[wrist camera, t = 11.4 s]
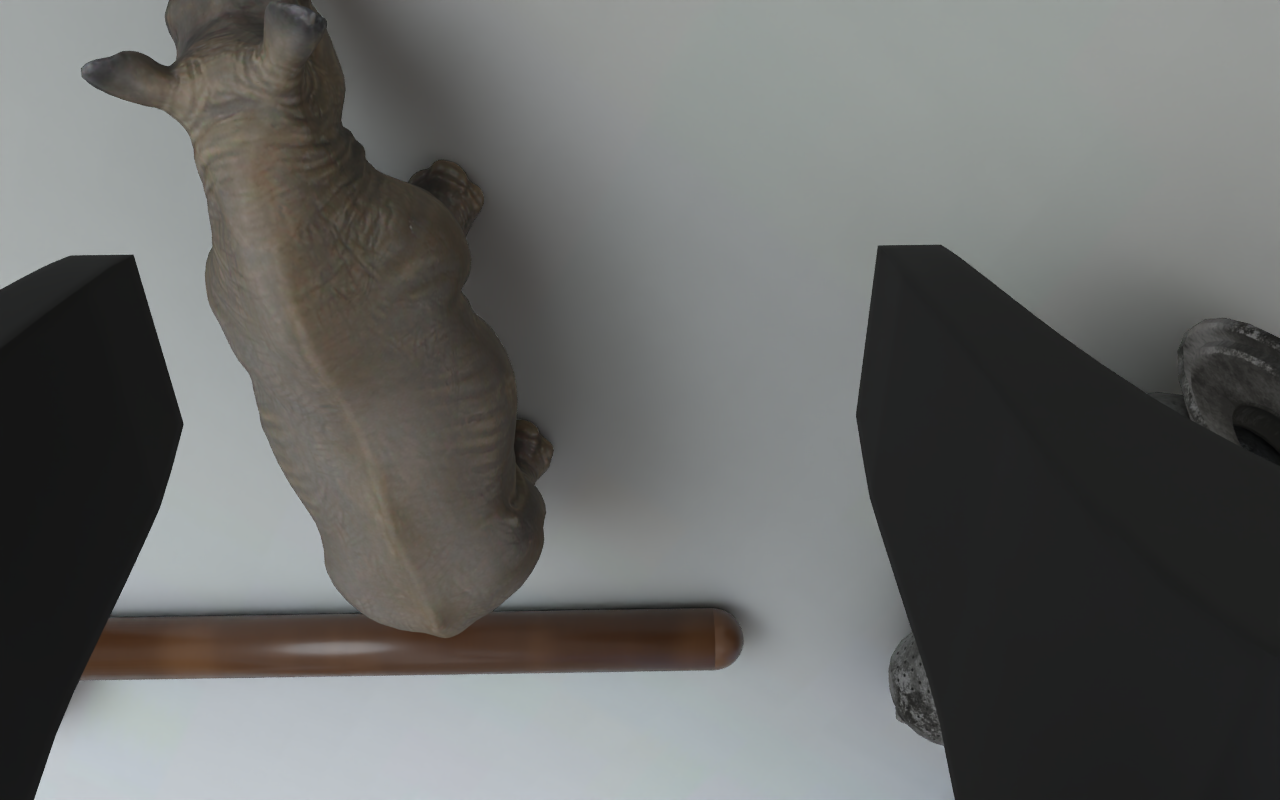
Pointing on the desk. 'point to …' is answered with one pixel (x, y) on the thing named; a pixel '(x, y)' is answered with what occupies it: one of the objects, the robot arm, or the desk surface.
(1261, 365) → the grey weathered turned ornament
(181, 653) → the brown long-handled part
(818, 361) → the desk surface
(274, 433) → the rhino figurine
